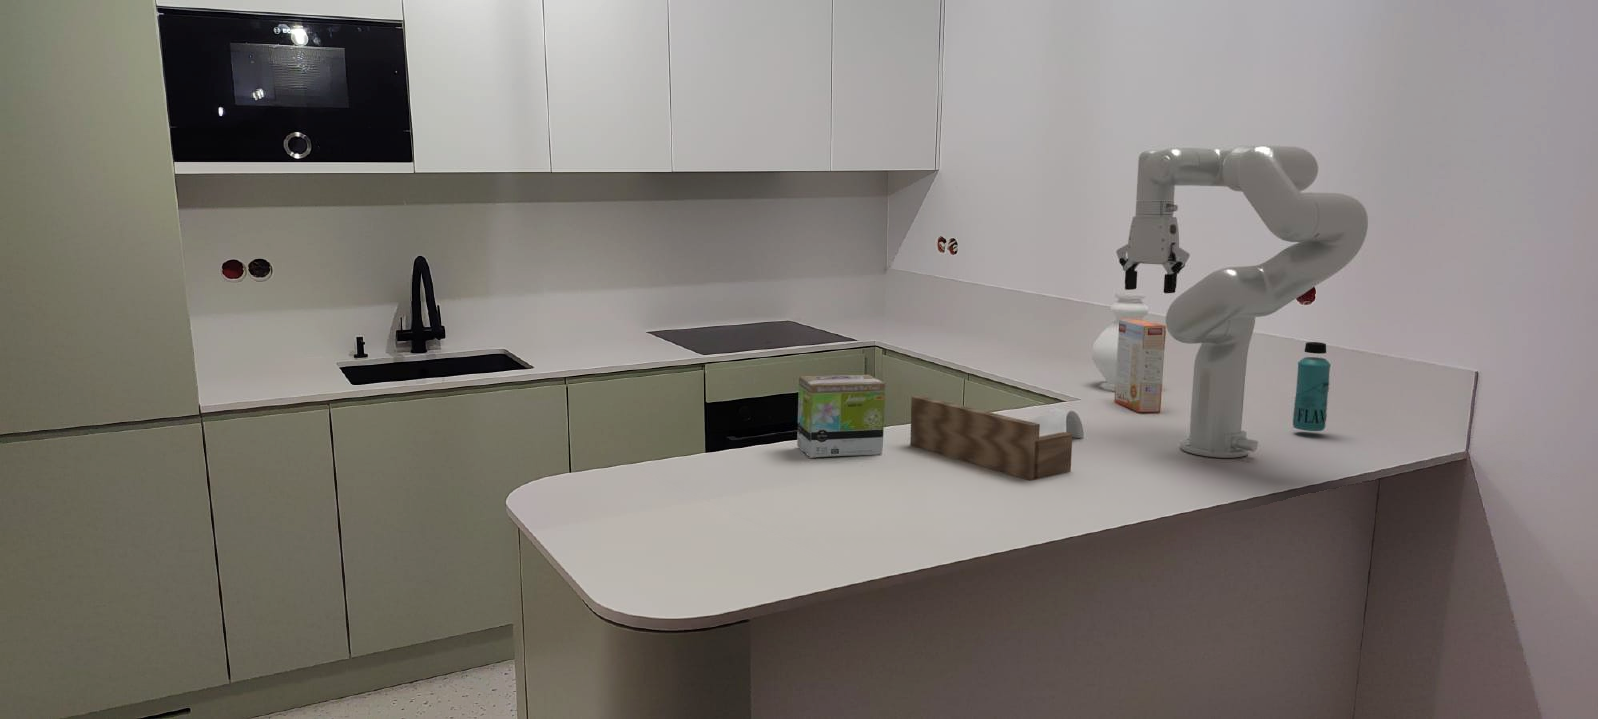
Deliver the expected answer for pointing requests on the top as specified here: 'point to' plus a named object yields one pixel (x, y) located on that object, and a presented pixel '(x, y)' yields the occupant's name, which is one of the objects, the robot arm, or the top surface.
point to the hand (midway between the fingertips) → (1149, 291)
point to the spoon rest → (1059, 423)
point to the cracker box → (1140, 365)
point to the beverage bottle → (1312, 390)
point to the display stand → (988, 439)
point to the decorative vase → (1116, 335)
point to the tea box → (840, 415)
